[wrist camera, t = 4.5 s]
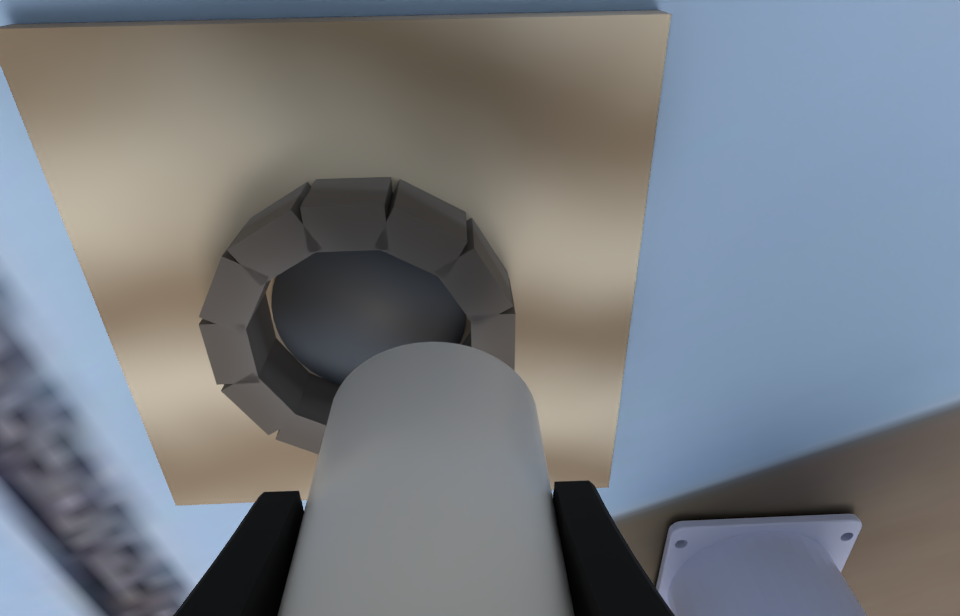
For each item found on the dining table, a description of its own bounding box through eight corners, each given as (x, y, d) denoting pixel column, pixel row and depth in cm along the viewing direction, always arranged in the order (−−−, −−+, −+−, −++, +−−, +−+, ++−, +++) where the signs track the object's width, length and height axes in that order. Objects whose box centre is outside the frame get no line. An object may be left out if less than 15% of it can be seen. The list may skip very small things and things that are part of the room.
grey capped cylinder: (532, 496, 14) (592, 904, 8) (341, 501, 14) (259, 923, 8) (543, 339, 12) (639, 746, 6) (316, 343, 12) (174, 766, 6)
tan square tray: (602, 467, 24) (621, 531, 21) (186, 484, 23) (153, 552, 21) (659, 10, 15) (700, 23, 13) (13, 24, 15) (-79, 40, 12)
